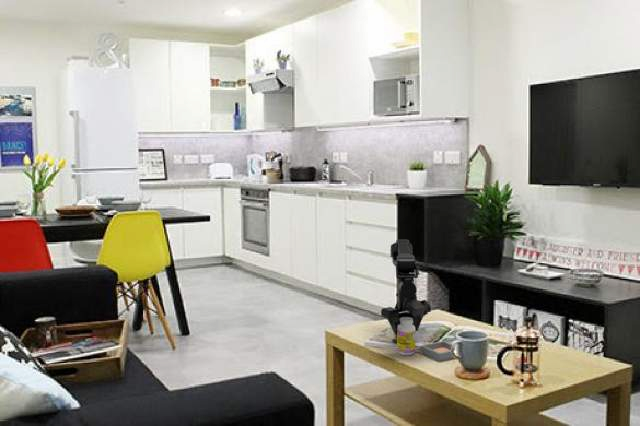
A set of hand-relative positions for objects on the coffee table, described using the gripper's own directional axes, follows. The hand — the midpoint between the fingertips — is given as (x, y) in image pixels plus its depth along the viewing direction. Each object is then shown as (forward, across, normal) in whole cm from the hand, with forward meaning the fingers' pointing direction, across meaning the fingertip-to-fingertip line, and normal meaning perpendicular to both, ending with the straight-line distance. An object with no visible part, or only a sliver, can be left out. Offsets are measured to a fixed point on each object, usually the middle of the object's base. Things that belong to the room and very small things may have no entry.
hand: (406, 332), depth 249 cm
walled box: (+8, +9, -9) cm, 15 cm away
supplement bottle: (+8, 0, 0) cm, 8 cm away
